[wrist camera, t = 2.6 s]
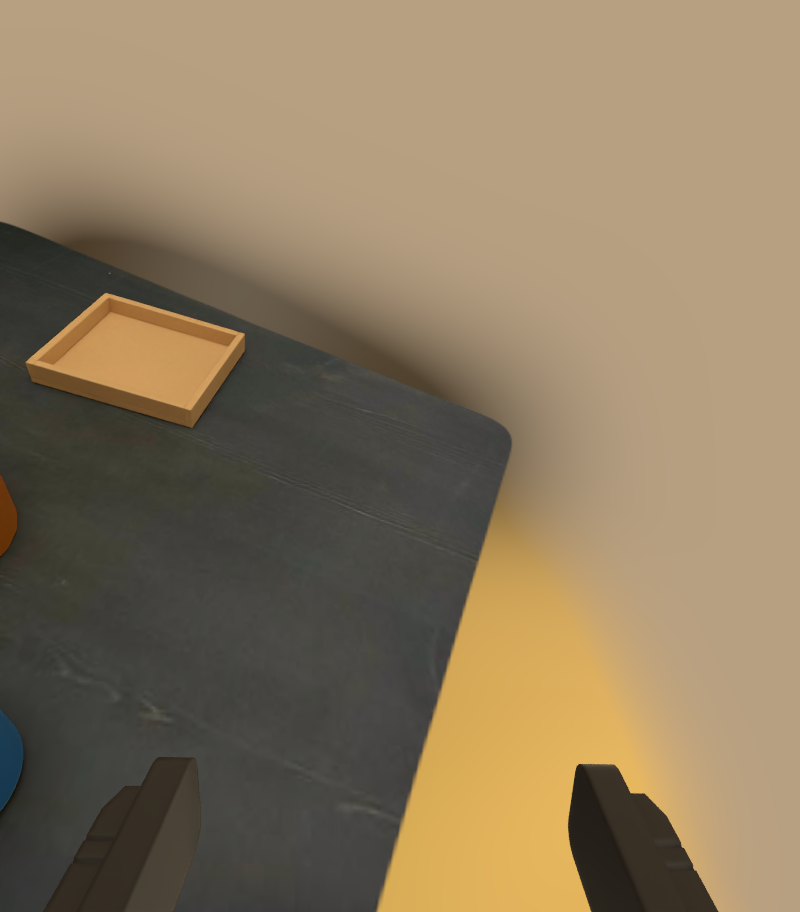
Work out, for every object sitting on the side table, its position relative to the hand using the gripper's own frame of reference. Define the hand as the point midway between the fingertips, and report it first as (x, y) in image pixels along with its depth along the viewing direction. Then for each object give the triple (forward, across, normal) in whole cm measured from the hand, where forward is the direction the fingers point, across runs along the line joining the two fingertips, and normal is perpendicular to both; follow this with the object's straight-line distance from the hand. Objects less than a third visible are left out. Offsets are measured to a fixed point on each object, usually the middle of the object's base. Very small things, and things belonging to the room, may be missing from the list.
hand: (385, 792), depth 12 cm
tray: (+40, +21, -4) cm, 45 cm away
